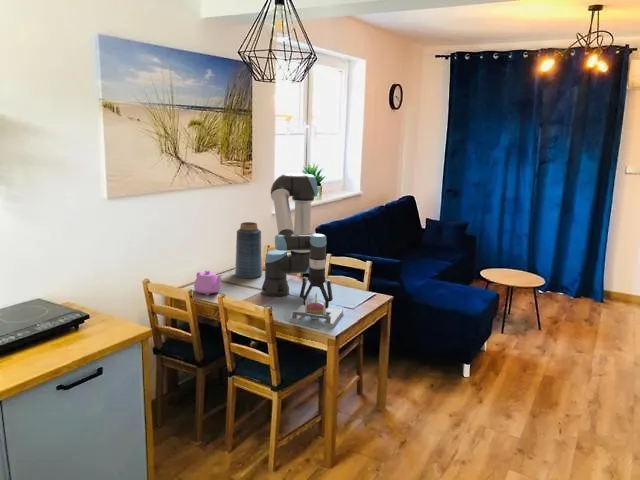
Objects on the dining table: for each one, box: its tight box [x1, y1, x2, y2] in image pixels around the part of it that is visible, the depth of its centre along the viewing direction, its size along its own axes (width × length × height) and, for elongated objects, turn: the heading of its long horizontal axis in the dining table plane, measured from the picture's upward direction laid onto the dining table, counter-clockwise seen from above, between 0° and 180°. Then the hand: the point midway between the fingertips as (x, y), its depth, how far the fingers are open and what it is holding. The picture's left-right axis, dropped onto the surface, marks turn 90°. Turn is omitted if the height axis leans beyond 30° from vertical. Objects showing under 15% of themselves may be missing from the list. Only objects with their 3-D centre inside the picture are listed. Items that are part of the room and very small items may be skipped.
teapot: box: [193, 269, 223, 296], centre depth 281 cm, size 20×14×12 cm
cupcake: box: [307, 293, 324, 320], centre depth 248 cm, size 9×8×12 cm
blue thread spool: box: [234, 221, 263, 279], centre depth 314 cm, size 16×16×32 cm
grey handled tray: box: [288, 304, 344, 329], centre depth 251 cm, size 21×20×5 cm
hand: (315, 313), depth 249 cm, fingers closed on cupcake, 8 cm apart
